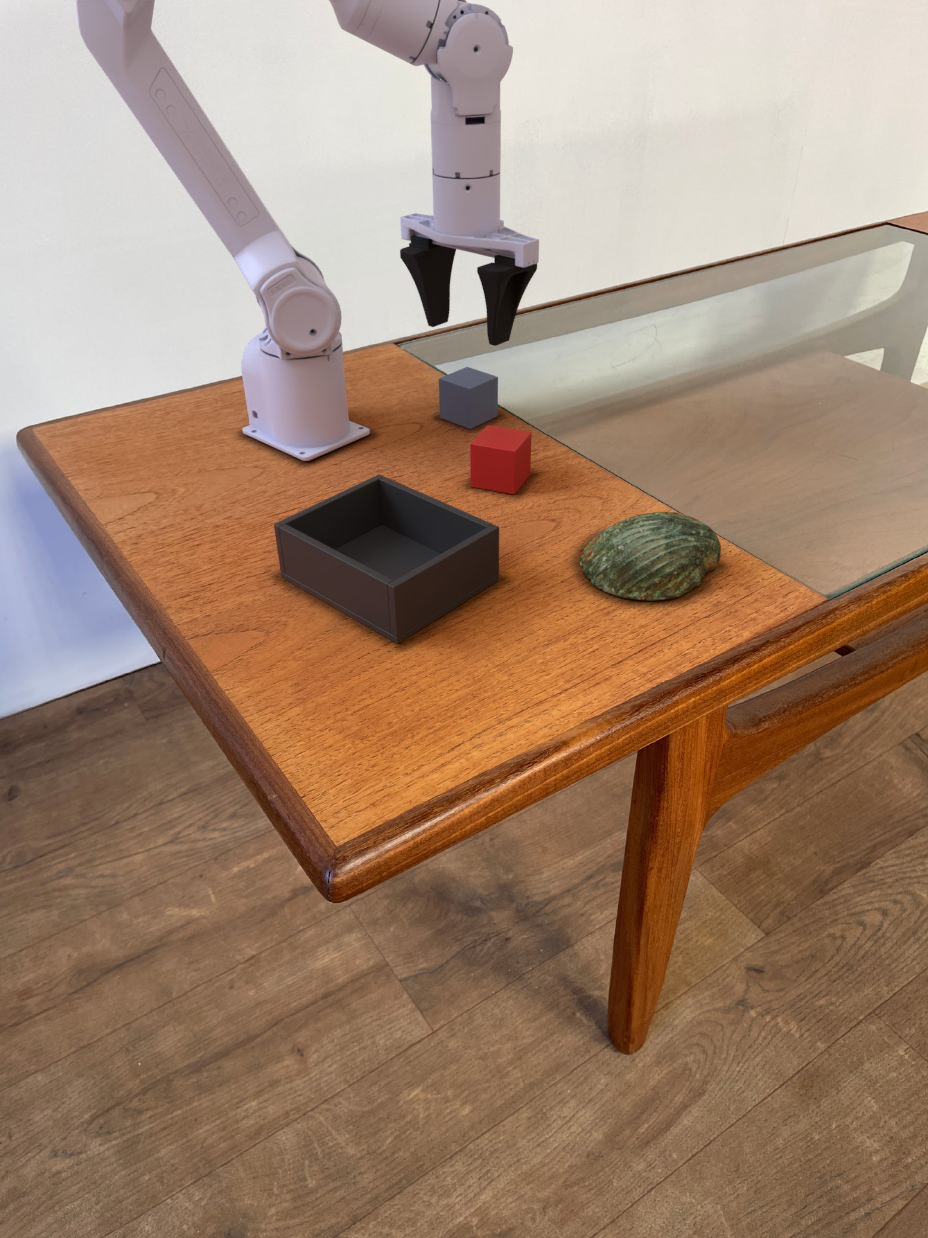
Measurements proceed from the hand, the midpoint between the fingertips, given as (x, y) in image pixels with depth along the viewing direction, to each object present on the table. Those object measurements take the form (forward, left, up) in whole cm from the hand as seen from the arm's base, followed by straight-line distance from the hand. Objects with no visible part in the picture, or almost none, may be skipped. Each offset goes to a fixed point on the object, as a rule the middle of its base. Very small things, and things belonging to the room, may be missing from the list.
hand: (468, 332), depth 88 cm
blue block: (0, 0, -8) cm, 8 cm away
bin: (+15, -25, -8) cm, 30 cm away
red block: (+11, -8, -8) cm, 16 cm away
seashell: (+28, -11, -8) cm, 31 cm away
